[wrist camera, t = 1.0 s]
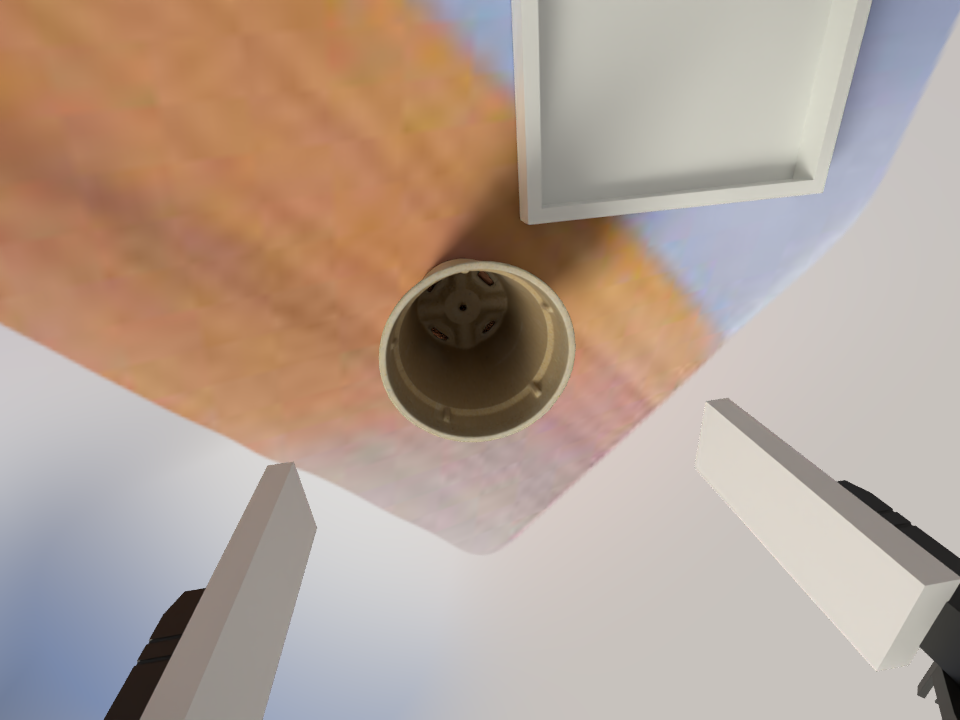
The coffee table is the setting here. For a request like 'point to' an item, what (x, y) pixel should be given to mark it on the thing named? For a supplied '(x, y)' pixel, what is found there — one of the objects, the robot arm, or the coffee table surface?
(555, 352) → the flower pot
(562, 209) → the tray
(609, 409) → the coffee table surface
